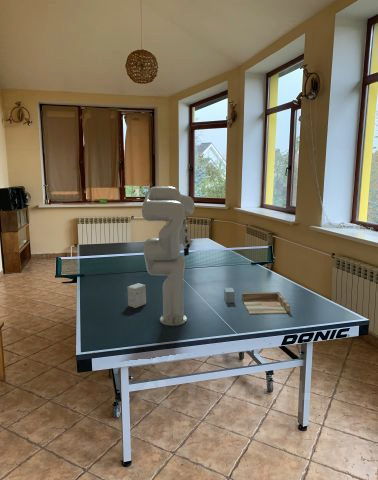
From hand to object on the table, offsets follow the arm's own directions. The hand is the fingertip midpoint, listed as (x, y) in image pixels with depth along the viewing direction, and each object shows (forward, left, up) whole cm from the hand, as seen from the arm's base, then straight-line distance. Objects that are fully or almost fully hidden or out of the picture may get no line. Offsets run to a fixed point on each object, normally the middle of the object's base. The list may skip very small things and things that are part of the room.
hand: (179, 254), depth 201 cm
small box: (-8, +23, -25) cm, 35 cm away
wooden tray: (-14, -43, -25) cm, 52 cm away
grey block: (-4, -26, -25) cm, 37 cm away
